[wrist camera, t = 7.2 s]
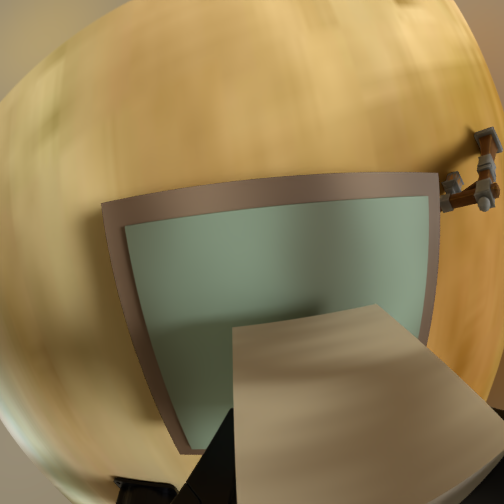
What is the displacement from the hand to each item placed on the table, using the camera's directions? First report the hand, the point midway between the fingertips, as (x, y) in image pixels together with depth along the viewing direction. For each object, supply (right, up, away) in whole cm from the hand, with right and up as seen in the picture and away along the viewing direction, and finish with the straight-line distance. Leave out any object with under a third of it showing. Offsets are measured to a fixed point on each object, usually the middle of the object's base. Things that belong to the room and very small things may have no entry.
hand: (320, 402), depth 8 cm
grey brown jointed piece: (+11, +10, +5) cm, 16 cm away
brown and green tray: (0, +1, +6) cm, 6 cm away
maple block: (0, 0, +1) cm, 2 cm away
